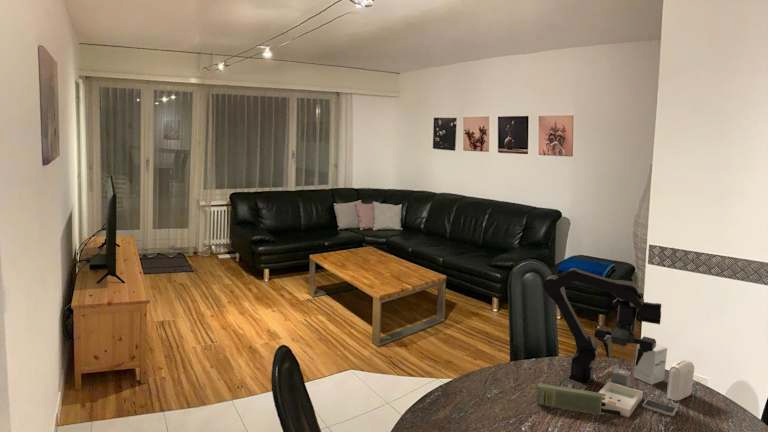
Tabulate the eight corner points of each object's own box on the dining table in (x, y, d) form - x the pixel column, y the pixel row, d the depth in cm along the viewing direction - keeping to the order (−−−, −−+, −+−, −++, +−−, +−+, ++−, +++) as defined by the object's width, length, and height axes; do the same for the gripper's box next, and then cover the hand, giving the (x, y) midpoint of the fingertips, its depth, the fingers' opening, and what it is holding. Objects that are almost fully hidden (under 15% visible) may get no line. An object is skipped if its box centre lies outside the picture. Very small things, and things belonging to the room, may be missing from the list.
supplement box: (652, 385, 182) (655, 351, 180) (633, 377, 188) (636, 344, 187) (664, 380, 186) (668, 347, 184) (645, 372, 192) (648, 340, 190)
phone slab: (673, 416, 161) (673, 414, 161) (642, 406, 167) (642, 404, 167) (676, 410, 165) (677, 407, 165) (646, 401, 171) (646, 398, 171)
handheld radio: (536, 400, 170) (619, 414, 162) (536, 405, 167) (620, 420, 159) (538, 381, 169) (621, 394, 161) (537, 386, 166) (622, 400, 158)
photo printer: (680, 389, 179) (683, 355, 178) (693, 394, 176) (697, 360, 174) (664, 397, 174) (668, 362, 172) (677, 402, 170) (681, 367, 168)
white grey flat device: (592, 405, 167) (593, 397, 167) (607, 388, 179) (608, 380, 179) (628, 417, 160) (629, 409, 160) (642, 398, 172) (642, 391, 172)
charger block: (610, 387, 180) (612, 372, 179) (615, 382, 184) (616, 367, 183) (625, 391, 177) (627, 376, 176) (629, 386, 181) (631, 371, 180)
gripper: (590, 317, 177) (587, 361, 179) (650, 331, 165) (645, 377, 167) (601, 310, 185) (597, 351, 188) (658, 322, 173) (653, 366, 176)
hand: (622, 361), depth 179 cm, fingers open, 9 cm apart
